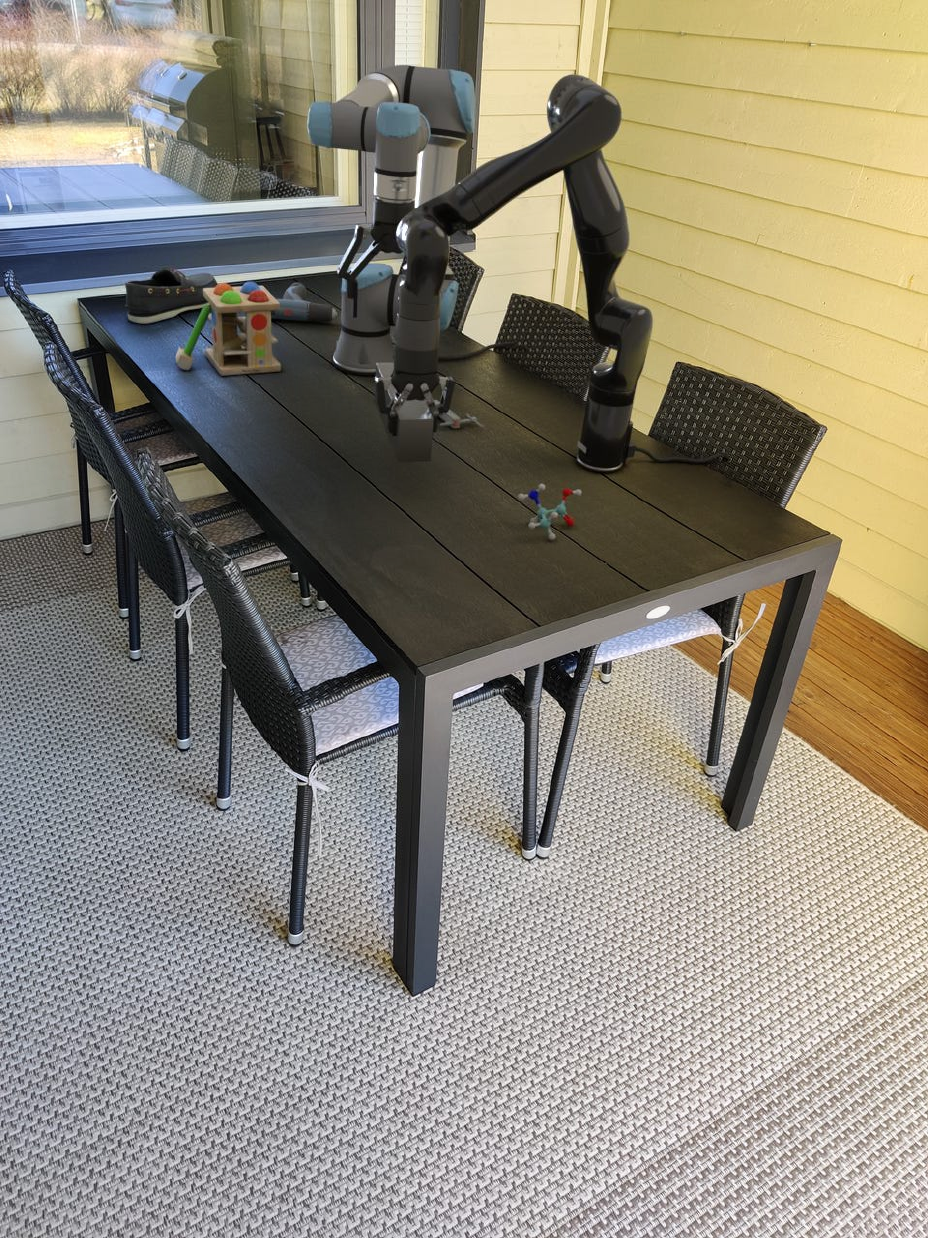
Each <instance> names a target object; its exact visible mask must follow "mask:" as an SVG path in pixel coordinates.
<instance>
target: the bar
mask: <svg viewBox="0 0 928 1238" xmlns="http://www.w3.org/2000/svg"><path fill="white" fill-rule="evenodd" d="M393 369H394V363H376V375H375V377H376V376H380V377H381V378H384V377H390V376H391V374H392V372H393ZM374 387H375V386H374ZM395 391H396V389H395V387H394V386H393V385H392V384H390V385H389V386H388V390H386V391H385V400H386V404H387V405H389V404H390V403H391V401H392V398H393V395H394V393H395ZM425 401H426V400H425V399H424V401H419V400H411V401H406V400H405V402H404V404H403V406H402V407H401V408H400V409H399V411H398V413H397V415H396V416H397V433H396V436H392V434H391V433H389V430H388V427H387V425H388V415H387V414H385V413H384V414H382V413H380V411H379V408H378V404H377V395H376V387H375V388H374V404H375V406H376V409H377V411H378V414H379V417H380V419H381V422H382V425H383V427H384V430H385V433H386V435H387V438H388V440H389V443H390V446H391V448H392V451H393V454H394V456H395V458H396V461H397V463H418V462H420V463H422V462H423V463H424V462H425V463H426V462H432V450H433V436H434V433H433V422H434V418H433V416H432V414H431V412H430V410H429V408H428V406H427V404H426V402H425Z"/></svg>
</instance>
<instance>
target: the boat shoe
mask: <svg viewBox="0 0 928 1238" xmlns="http://www.w3.org/2000/svg"><path fill="white" fill-rule="evenodd" d="M217 285H218V281H217V280H216V278H215V277H214V275H213V274H211V273H208V272H202V273H196V274H191V275H187V276H186V275H185V273H183V272H181V271H180V270H177V269H175V268H170V267H166V266H165V267H162V268H160V269H158V270H157V271H155V272H154V273H153V274H152V276H151V277H150V278H149V279H141V280H127V281H126V282H125V283H124V287H125V293H126V294H125V295H126V296H125V301H126V302H125V304H124V308H126V309H127V319H128V320H129V322H133V323H137V324H152V323H155V322H160V321H163V320H167V319H170V318H174V317H175V316H177V315H179V314H180V313H183V312H185V311H190V310H197V309H203V307H204V305H208V306H211V305H210V304H209V302H208V301H207V300H206V299H205V297H204V296H203V289H204V288H215V287H216V286H217Z"/></svg>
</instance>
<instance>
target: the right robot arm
mask: <svg viewBox="0 0 928 1238" xmlns="http://www.w3.org/2000/svg"><path fill="white" fill-rule="evenodd" d="M622 113H623V112H622V107H621V104H620V102H619V100H618V99H617V98H616V96H615V95H614V94H612V93H611V92H610V91H608V89H606V88H604V87H603V86H601V84H598V83H597V82H595V81H594V80H593V79H591V78H589V77H587V76H584V75H581V74H577V73H572V74H571V73H570V74H567V75H564V76H563V77H561V78H560V79H559V80H557V82H556V83H555V84H554V85H553V87H552V89H551V90H550V93H549V95H548V98H547V104H546V116H547V118H546V119H547V123H548V127H549V130H550V133H548V134H547V135H545V136H544V137H542V138H540V139H538V140H537V141H536V142H534V143H531V144H529V145H527V146H525V147H523V148H520V149H518V150H515V151H511V152H508V153H506V154H505V153H504V154H503V155H501V156H497V157H495V158H492V159H490V160H489V161H486V162H484V163H483V164H481V165H479V166H478V167H476V168H475V169H474V170H473V171H471V172H470V173H468V174H467V175H466V176H465V177H464V178H462V179H461V180H459V181H458V182H457V183H455V186H453V187H452V188H451V189H450V190H449V191H447V192H445V193H443V194H441V195H439V196H437V197H435V198H433V199H431V200H429V201H427V202H425V203H423V204H422V205H420V206H418V207H416V208H415V209H413V210H412V211H411V212H409V213H408V214H407V215H406V216H405V217H404V218H403V219H402V220H401V222H400V223H399V225H398V228H397V232H396V240H397V243H398V246H399V248H400V249H401V250H402V251H403V254H404V255H406V263H407V266H406V275H405V278H403V279H402V280H401V282H400V285H399V291H398V311H397V320H396V326H394V327H395V328H394V335H393V338H394V345H393V347H394V369H393V372H392V374H391V376H390V377H384V378H381V377H380V376H376V375H375V377H374V385H375V386H374V387H376V395H377V404H378V408H379V411H380V413H382V414H384V413H385V414H387V415H388V425H387V427H388V430H389V433H391V434H392V436H396V433H397V416H396V415H397V413H398V411H399V409H400V408H401V407H402V406H403V404H404V402H405V400H406V401H411V400H419V401H424V400H425V401H426V402H427V404H428V406H429V409H430V412H431V414H432V416H433V418H434V422H433V434H434V433H436V432H437V430H438V420H439V419H438V418H439V416H438V415H439V414H441V413H448V412H449V410H450V407H451V404H452V399H453V395H454V390H455V386H456V382H455V381H454V379H453V378H452V376H451V375H447V376H446V377H445V376H439V371H438V370H439V369H438V368H439V360H438V356H440V354H439V353H440V339H441V332H440V302H441V288H442V285H443V282H444V278H445V274H446V270H447V265H448V266H449V260H450V249H451V248H450V247H451V245H450V240H449V236H450V237H451V236H453V235H455V234H456V233H458V232H461V231H463V232H465V231H466V232H469V231H472V230H474V229H476V228H477V227H479V226H480V225H482V224H483V223H484V222H486V221H488V220H489V219H490V218H491V217H492V216H493V215H495V214H496V213H498V212H499V211H500V210H501V209H503V208H504V207H505V206H507V205H508V204H510V203H511V202H512V201H514V200H515V199H517V198H518V197H520V196H521V195H522V194H524V193H526V192H527V191H529V190H531V189H532V188H534V187H535V186H537V185H539V184H541V183H543V182H544V181H546V180H547V179H550V178H552V177H554V176H555V175H557V174H559V173H561V172H563V177H564V183H565V189H566V193H567V194H566V195H567V199H568V204H569V209H570V215H571V220H572V226H573V232H574V236H575V241H576V245H577V246H576V247H577V249H578V253H579V257H580V263H581V269H582V275H583V280H584V287H585V295H586V298H585V299H586V309H587V319H588V327H589V332H590V335H591V337H592V339H593V340H594V341H595V342H596V343H597V344H599V345H602V346H603V347H605V348H607V349H611V350H614V351H616V354H615V358H614V361H604V362H600V363H597V364H595V365H594V366H593V367H592V369H591V372H590V376H589V377H590V378H589V383H588V389H587V396H586V403H585V407H584V408H585V409H584V415H583V420H582V421H583V422H582V427H581V434H580V440H577V444H576V445H577V448H578V451H577V454H576V463H577V464H578V465H579V466H580V467H581V468H583V469H584V470H587V471H590V472H595V473H601V474H612V473H615V472H618V471H620V470H621V469H622V468H623V467H626V464H627V459H629V458H634V457H635V453H636V452H639V453H642V454H644V455H646V456H648V457H649V458H650V459H651V460H653V461H655V462H659V463H668V462H669V463H670V462H682V463H690V464H704V463H708V462H711V461H713V460H716V459H718V458H724V459H725V460H726V461H731V458H730V456H729V455H727V456H725V457H722V454H721V452H720V453H719V452H718V453H716V454H713V455H711V456H708V457H705V458H700V459H699V458H698V459H696V458H688V457H680V456H671V457H664V458H663V457H657V456H655V455H654V454H652V453H651V452H650V451H649V450H647V449H645V448H641V447H638V446H637V444H635V443H634V442H632V441H631V439H632V433H633V429H634V428H633V427H634V423H633V421H632V420H631V418H632V413H633V409H634V403H635V397H636V392H637V386H638V381H639V379H640V377H641V374H642V373H643V369H644V366H645V361H646V359H647V353H648V349H649V347H650V346H649V345H650V342H651V337H652V333H653V327H654V317H653V313H652V311H651V310H650V308H649V307H647V306H645V305H642V304H639V303H636V302H633V301H630V300H628V299H625V298H622V297H621V296H620V294H619V293H618V289H617V284H616V283H617V282H616V274H617V272H618V269H619V268H620V266H621V264H622V263H623V261H624V259H625V258H626V255H627V254H628V250H629V247H630V243H631V238H630V228H629V227H630V226H629V221H628V215H627V209H626V204H625V202H624V200H623V197H622V195H621V194H622V193H621V191H620V189H619V187H618V184H617V182H616V181H615V179H614V176H613V174H612V172H611V170H610V168H609V165H608V164H607V162H606V159H605V157H604V153H603V150H602V149H603V148H605V147H606V146H607V145H608V144H609V143H611V141H612V140H613V139H614V138H615V136H616V135H617V133H618V131H619V129H620V127H621V123H622V117H623V116H622ZM390 384H392V385H393V386H394V387H395V389H396V391H395V393H394V395H393V398H392V401H391V403H390V404H389V405H387V404H386V400H385V391H386V390H388V386H389V385H390ZM439 384H440V388H441V390H442V392H441V397H440V401H439V402H440V404H437V405H435V402H434V400H435V399H434V398H433V395H432V393H433V392H434V390H436V388H437V386H439Z"/></svg>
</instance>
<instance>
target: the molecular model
mask: <svg viewBox="0 0 928 1238" xmlns="http://www.w3.org/2000/svg"><path fill="white" fill-rule="evenodd" d="M544 490H546V485H545V484H544V483H539V485H538V488H537V489H533V490H531V491H529V493H528V494H527V493H526V494H523V493H519V494H518V495H517V499H518V500H519V501H520V502H522V501H524V500H525V499H530V500H532V501H534V503H535V504H536V507H537V509H538V510H537V512H536V513H537V515H536V516H535V517H531V519H530V522H529V523H528V525H527V526H528V528H529V530H534V529H536V528H537V527H541V528H542V529H544V530H546V532H547V534H548V539H549V540H550V541H554V540H555V539H556V534H555V533H553V532H552V529H551V528H550V527H551V525H552V524H551V522H552V520H553V519H557V518H558V516H561V517H562V519H563V520H564V522H565V525H566V526H567V527H568V528H572V527H573V526H575V520H574V518H572V517H570V515H569V514H568V513H567V507H566V506H565V504H566V500H567V498H569V497H570V496H571V495H575V496H576V497H580V496H581V495H582V490H581V489H575V490H571V489H570V488H568V487H564V488H563V489H562V491H561V493H562V499H561V502H560V504H558V505H556V507H555V508H552V509H547V508H545V507H542V505H541V503H540V500H539V499H538V497H539V493H540V492H542V491H544ZM548 514H550V516H549V517H547V516H548ZM539 519H541V520H540V522H538V520H539Z"/></svg>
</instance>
